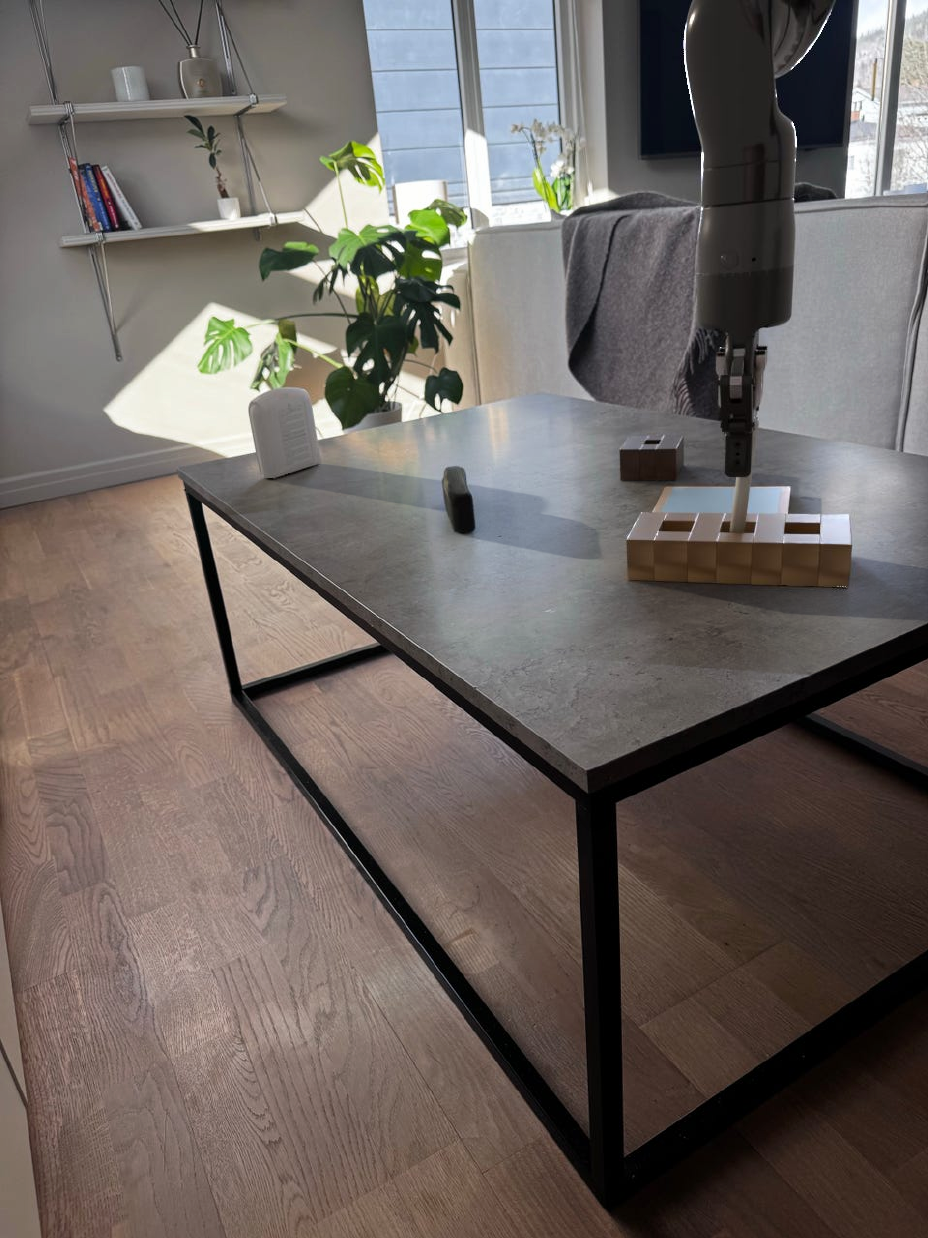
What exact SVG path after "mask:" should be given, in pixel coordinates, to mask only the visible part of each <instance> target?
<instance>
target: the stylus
mask: <svg viewBox="0 0 928 1238" xmlns="http://www.w3.org/2000/svg"><path fill="white" fill-rule="evenodd" d="M754 421H755V424H756V429H755V430H754V434H753V439H752V468H751V473H750V475H749V476H748V477H735V486H734V487H735V493H734V501H733V508H732V516H731V524H730V532H729V533H744V532H745V524H746V517H747V509H748V502H749V494H750V487H752V478H753V471H754V465H755V464H754V462H755V455H756V448H757V441H758V434H759V426H760V423H759V419H758V420H757V419H756V418H755V417H754Z"/></svg>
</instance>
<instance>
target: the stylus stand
mask: <svg viewBox="0 0 928 1238" xmlns="http://www.w3.org/2000/svg"><path fill="white" fill-rule="evenodd" d="M618 452H619V479H620V481H677V479H678V477H679V475H680V474H681V472H682V470H683V467H684V465H685V435H684V434H666V435H663V434H661V435H659V434H658V435H656V434H655V435H629V436H628V438H627V439H626V440H625V442H624V443H623V444H622V445H621V447H620V448H619V451H618Z"/></svg>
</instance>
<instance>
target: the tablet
mask: <svg viewBox="0 0 928 1238" xmlns="http://www.w3.org/2000/svg"><path fill="white" fill-rule="evenodd" d="M791 490H792V488H791V486H751V487H750V494H749V502H748V509H747V513H758V514H789V513H788V512H789V511H790V502H791V495H792V493H791V492H792V491H791ZM734 493H735V486H665V487H664V489H663V491H662V493H661V495H660V497H659V499H658V501H657V502H656V505H655V506H654V509H653V510H652V512H667V513H732V508H733V501H734Z"/></svg>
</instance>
